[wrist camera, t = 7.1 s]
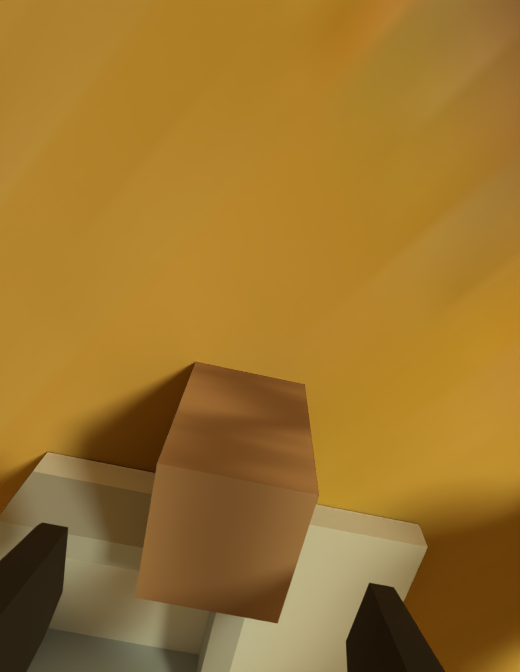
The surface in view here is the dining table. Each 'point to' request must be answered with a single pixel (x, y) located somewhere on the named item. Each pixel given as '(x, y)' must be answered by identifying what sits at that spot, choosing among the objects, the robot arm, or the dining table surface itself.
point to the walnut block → (231, 496)
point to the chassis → (183, 622)
